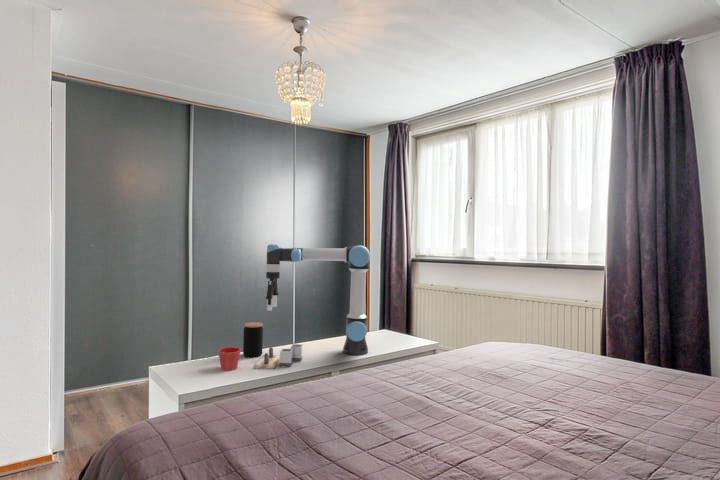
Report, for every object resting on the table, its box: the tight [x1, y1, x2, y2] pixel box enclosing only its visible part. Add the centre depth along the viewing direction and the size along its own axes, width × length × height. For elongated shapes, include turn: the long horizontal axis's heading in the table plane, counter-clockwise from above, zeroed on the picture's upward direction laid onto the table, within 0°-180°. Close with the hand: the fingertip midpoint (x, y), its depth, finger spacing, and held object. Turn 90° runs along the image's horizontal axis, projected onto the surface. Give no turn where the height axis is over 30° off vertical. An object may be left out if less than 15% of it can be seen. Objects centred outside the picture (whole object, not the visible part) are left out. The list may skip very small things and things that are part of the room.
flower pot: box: [218, 346, 241, 372], centre depth 218 cm, size 11×11×10 cm
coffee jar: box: [242, 321, 264, 359], centre depth 243 cm, size 11×11×18 cm
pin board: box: [254, 347, 280, 370], centre depth 230 cm, size 10×20×7 cm, turn 1°
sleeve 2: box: [290, 343, 303, 362], centre depth 237 cm, size 6×6×8 cm
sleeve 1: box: [279, 348, 294, 367], centre depth 227 cm, size 6×6×8 cm
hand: (272, 308), depth 243 cm, fingers open, 13 cm apart
